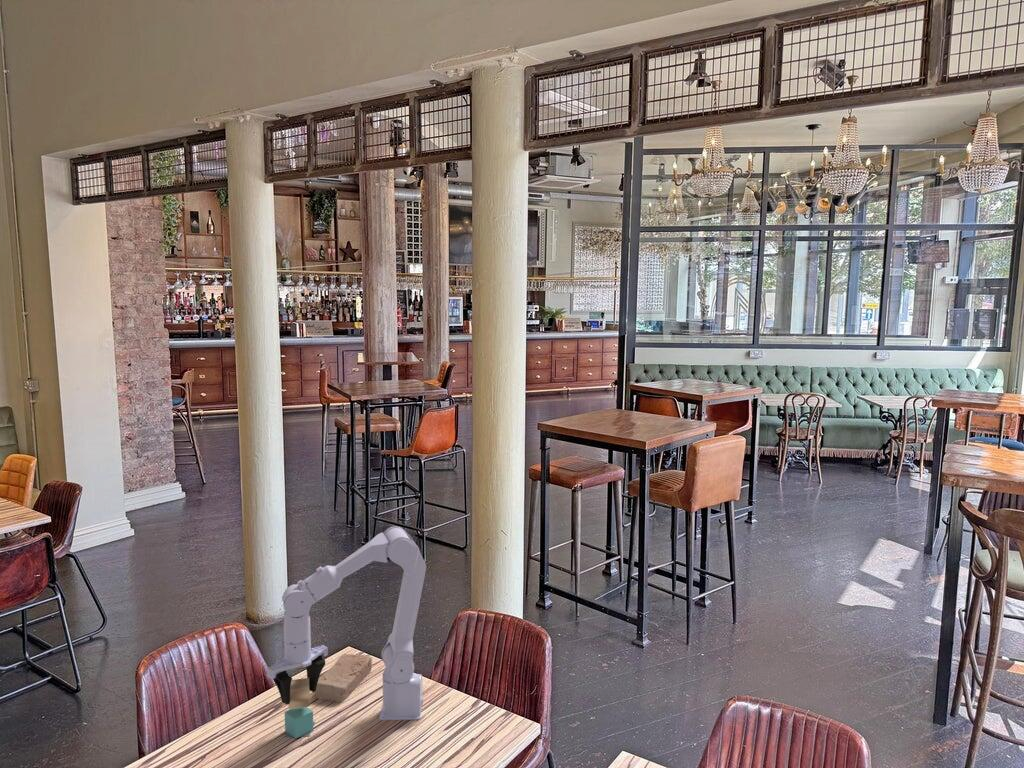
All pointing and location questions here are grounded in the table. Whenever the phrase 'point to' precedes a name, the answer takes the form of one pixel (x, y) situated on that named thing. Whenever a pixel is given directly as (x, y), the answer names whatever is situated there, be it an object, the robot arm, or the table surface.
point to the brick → (343, 677)
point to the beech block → (299, 693)
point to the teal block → (298, 721)
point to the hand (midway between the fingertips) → (299, 696)
